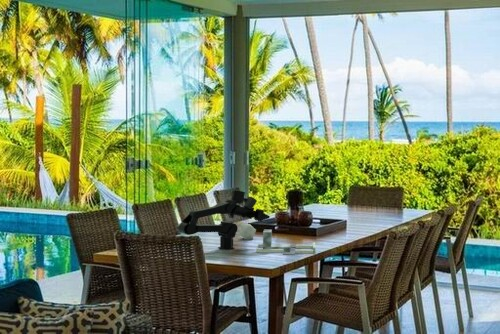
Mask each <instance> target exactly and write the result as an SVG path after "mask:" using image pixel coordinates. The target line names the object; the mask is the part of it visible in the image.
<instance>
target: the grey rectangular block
mask: <svg viewBox="0 0 500 334" xmlns="http://www.w3.org/2000/svg"><path fill="white" fill-rule="evenodd" d="M272 235H273V229H263V232H262V244H263V247H262V249H284V251H283V252H291V248H292V247H291V245H292V244H290V243H272V242H273V241H272V239H273V238H272V237H273V236H272Z"/></svg>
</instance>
